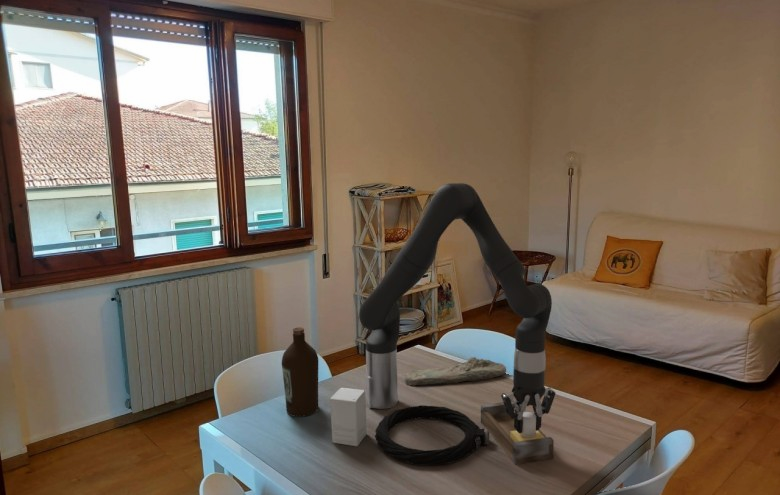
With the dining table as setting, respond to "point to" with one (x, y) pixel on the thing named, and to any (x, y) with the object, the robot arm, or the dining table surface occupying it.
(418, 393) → the dining table surface
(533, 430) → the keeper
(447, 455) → the cable lock
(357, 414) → the supplement box
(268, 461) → the dining table surface
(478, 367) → the long grey stone
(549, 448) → the wooden tray
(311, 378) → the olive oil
